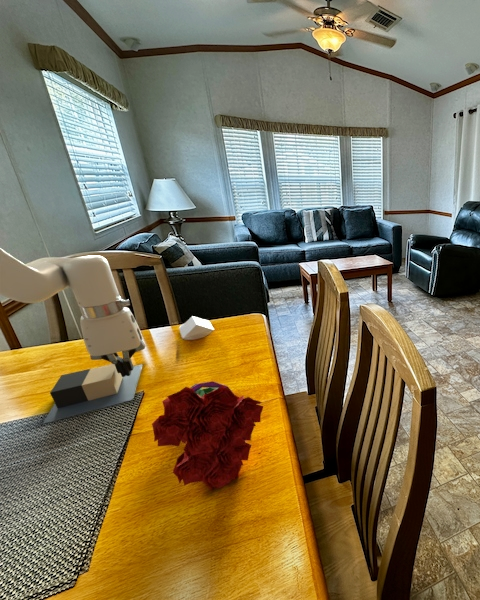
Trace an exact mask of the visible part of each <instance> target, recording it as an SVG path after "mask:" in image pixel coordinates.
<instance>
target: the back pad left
mask: <svg viewBox="0 0 480 600" xmlns="http://www.w3.org/2000/svg"><path fill="white" fill-rule="evenodd" d="M90 369H91V368H87V369H82V370H78V371H74V372H70V373H65V374H62V375H60V377H59V378H58V380H57V381H56V383H55V384H54V386H53V388H52V389H51V391H50V392H49V394H50V396H51V398H52V401H53V402H54V404H56V406H57V408H61V407H65V406H69V405H73V404H77V403H81V402H85V401H88V399H87V397H86V394H85V392H84V390H83V388H82V384H83V382H84V380H85V378H86V376H87V374H88V373H89V371H90Z"/></svg>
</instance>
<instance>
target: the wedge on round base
mask: <svg viewBox="0 0 480 600" xmlns="http://www.w3.org/2000/svg"><path fill="white" fill-rule="evenodd" d="M178 329H179V333H180V337H181V339H182V340H186V341H193V340H194V341H195V340H199V339H203V338H205V337H207V336H209V335H210V334H212V332H213V331H215V328H214V327H213V324H212V323H211V322H210V320H209V319H205V318H201V317H198V316H193V315H191V317H189V319H187V320H186V321H185V322H184V323H182V324H181V325H180V326H179V327H178Z"/></svg>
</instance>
